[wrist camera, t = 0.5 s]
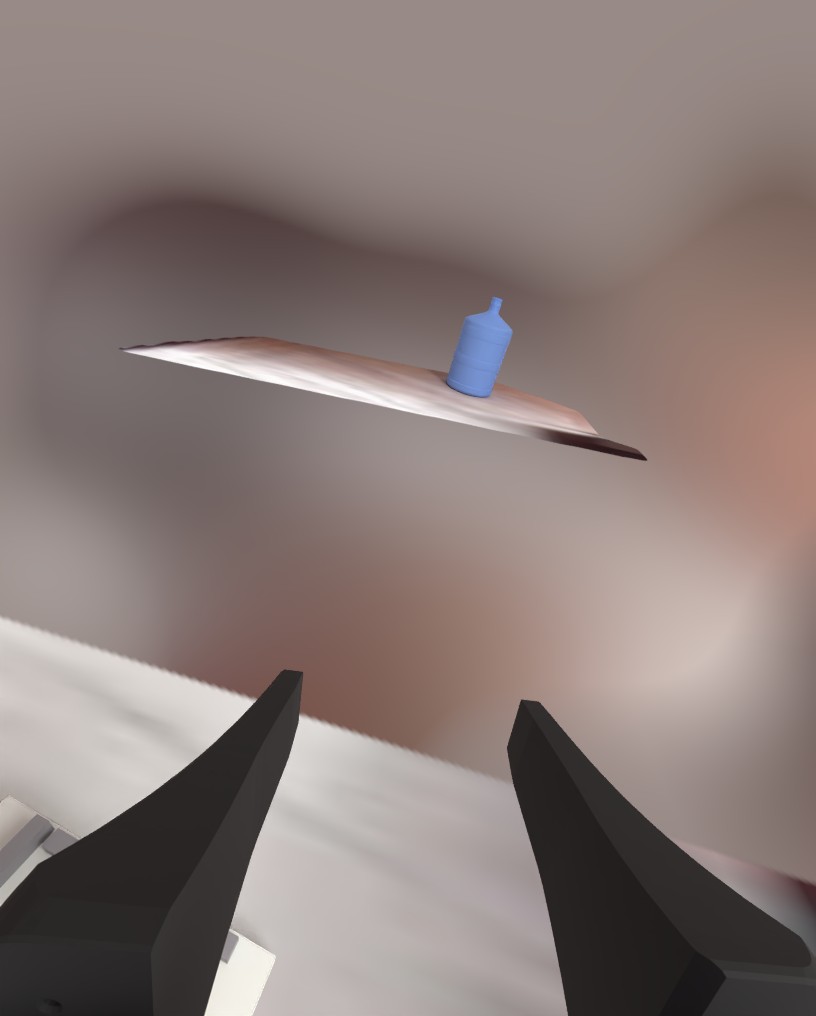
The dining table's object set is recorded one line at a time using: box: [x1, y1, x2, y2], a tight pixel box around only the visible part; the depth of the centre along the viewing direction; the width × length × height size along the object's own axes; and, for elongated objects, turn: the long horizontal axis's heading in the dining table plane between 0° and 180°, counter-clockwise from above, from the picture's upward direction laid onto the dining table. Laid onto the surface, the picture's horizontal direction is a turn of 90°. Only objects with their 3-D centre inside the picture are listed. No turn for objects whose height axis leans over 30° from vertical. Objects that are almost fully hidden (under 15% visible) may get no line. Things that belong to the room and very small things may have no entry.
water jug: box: [446, 297, 513, 397], centre depth 123 cm, size 16×16×28 cm
